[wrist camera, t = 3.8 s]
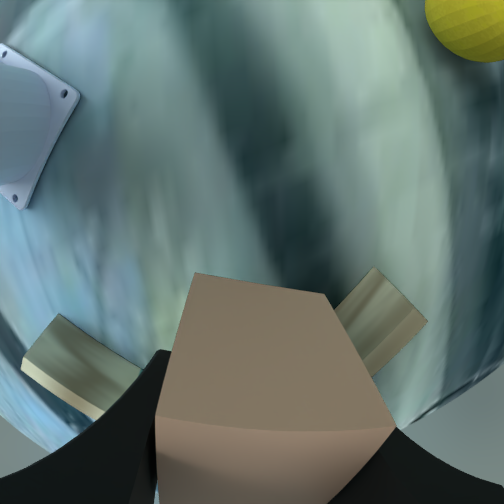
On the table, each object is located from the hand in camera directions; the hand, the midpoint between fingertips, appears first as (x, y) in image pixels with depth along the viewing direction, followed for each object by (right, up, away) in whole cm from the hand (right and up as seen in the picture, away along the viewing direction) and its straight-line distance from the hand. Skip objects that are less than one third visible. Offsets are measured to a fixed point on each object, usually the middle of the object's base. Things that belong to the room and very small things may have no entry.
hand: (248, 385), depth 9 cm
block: (0, +1, +2) cm, 2 cm away
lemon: (+12, +18, +3) cm, 22 cm away
